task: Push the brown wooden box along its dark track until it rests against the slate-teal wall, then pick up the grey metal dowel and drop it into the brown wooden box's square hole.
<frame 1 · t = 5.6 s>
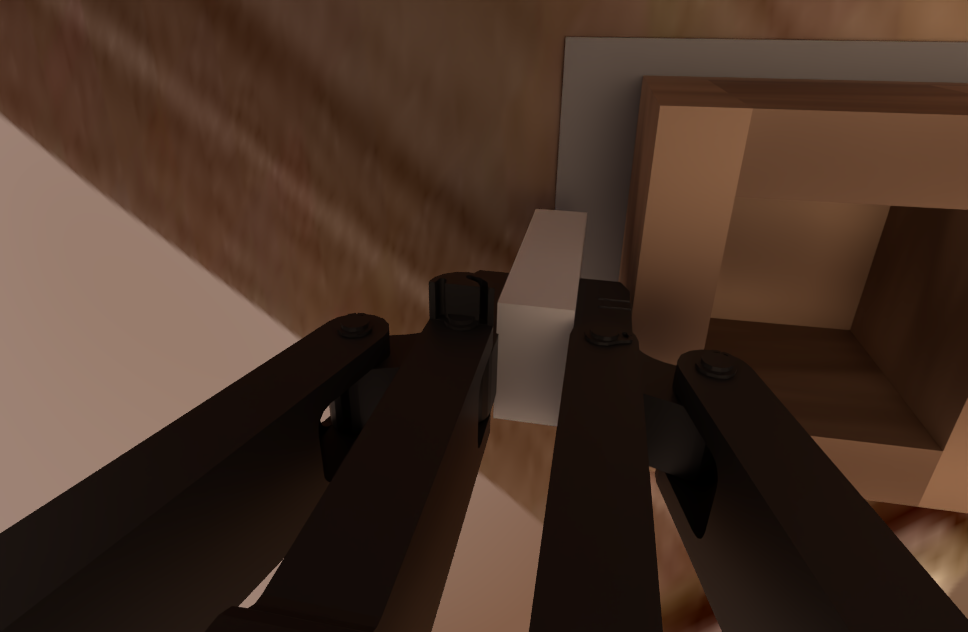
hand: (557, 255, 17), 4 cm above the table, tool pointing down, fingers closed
backstop: (826, 228, 19), on the table
brown wooden box: (799, 271, 16), point 4 cm above the table, slide at 1.1 cm, touching gripper
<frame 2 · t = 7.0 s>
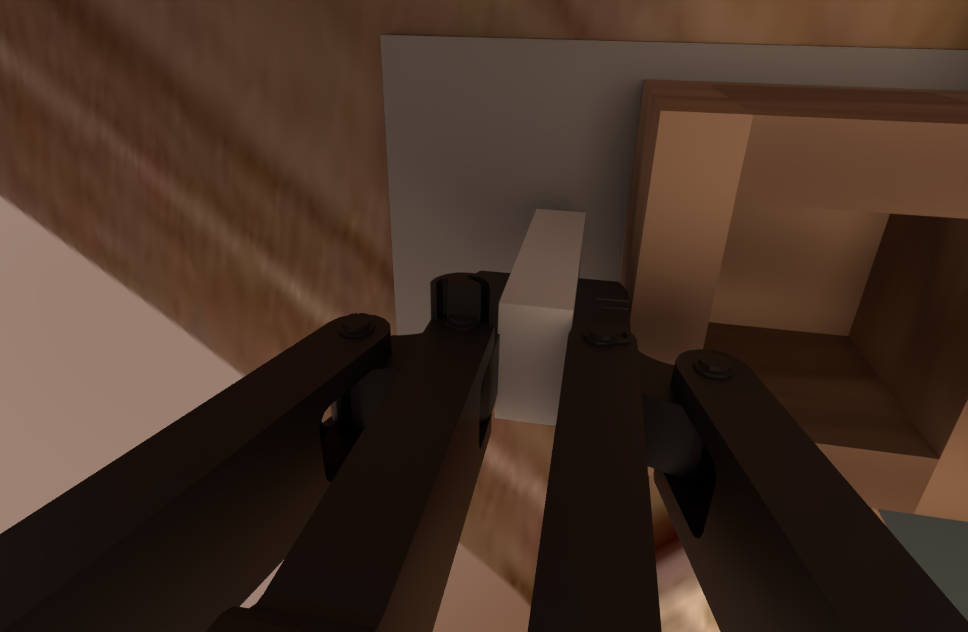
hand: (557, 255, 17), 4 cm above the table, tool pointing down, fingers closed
backstop: (639, 220, 20), on the table
brown wooden box: (798, 277, 16), point 4 cm above the table, slide at 7.0 cm, touching backstop, gripper
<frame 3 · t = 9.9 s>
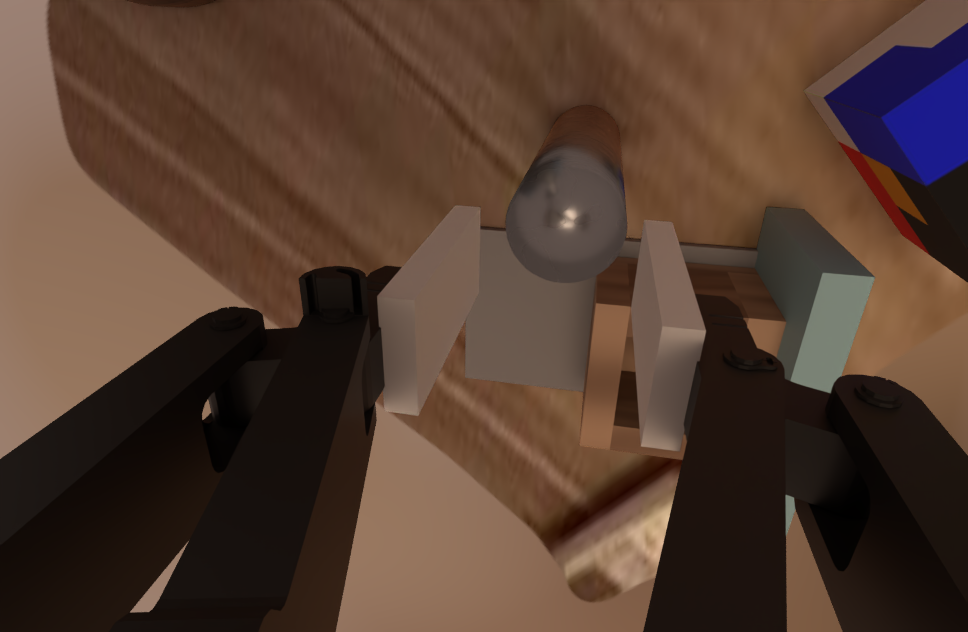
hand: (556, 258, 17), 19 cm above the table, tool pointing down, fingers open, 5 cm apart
backstop: (599, 317, 38), on the table
brown wooden box: (668, 356, 34), point 4 cm above the table, slide at 7.0 cm
dowel: (584, 142, 34), on the table
puzzle toy: (950, 99, 30), on the table
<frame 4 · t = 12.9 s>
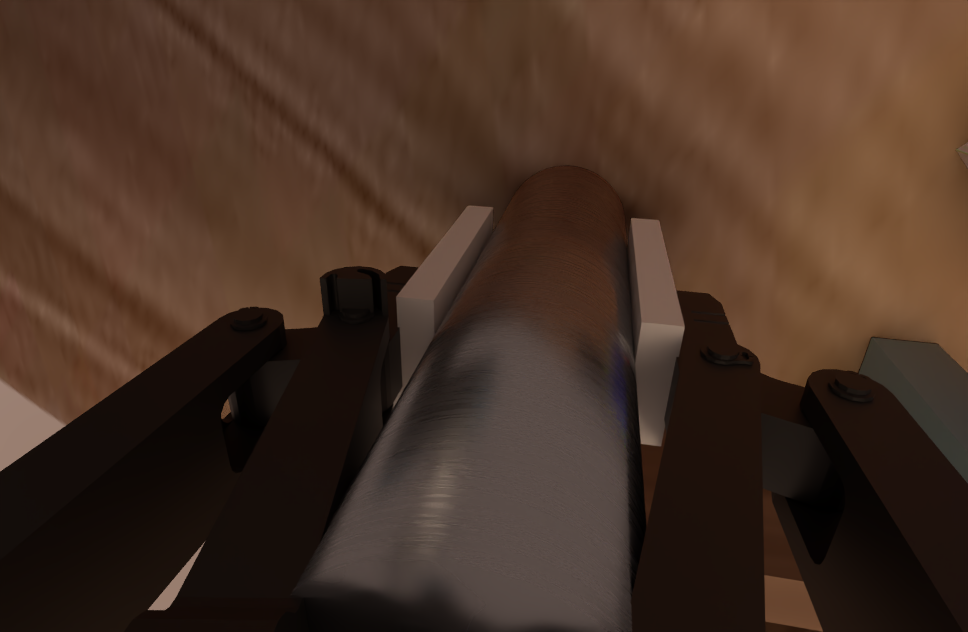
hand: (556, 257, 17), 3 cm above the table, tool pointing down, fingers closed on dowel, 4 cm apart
backstop: (590, 482, 25), on the table
brown wooden box: (703, 581, 20), point 4 cm above the table, slide at 7.0 cm
dowel: (564, 225, 20), on the table, touching gripper
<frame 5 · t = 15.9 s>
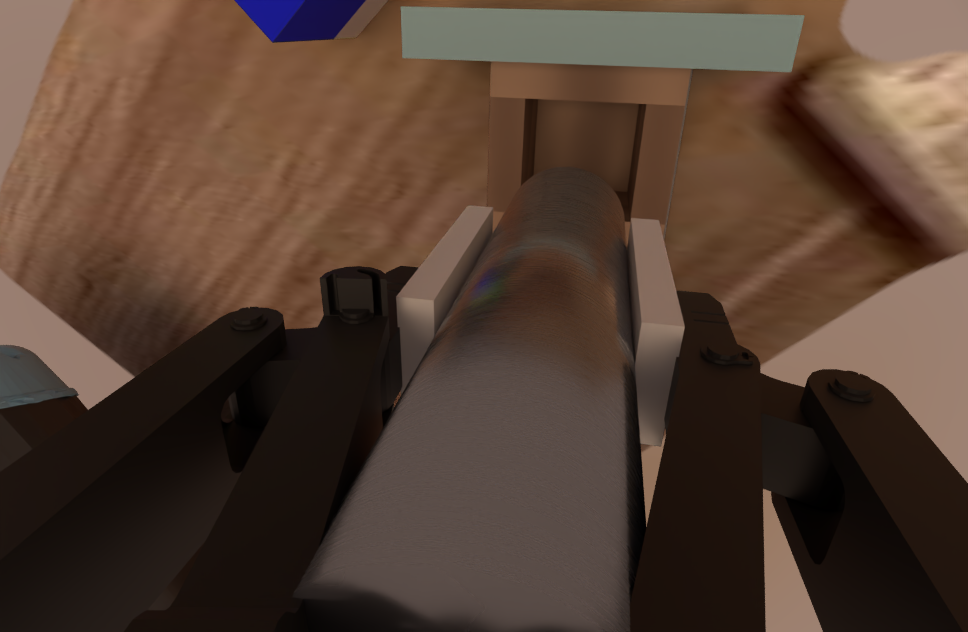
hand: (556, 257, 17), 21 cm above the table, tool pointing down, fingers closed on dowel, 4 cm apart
backstop: (578, 201, 37), on the table
brown wooden box: (582, 148, 32), point 4 cm above the table, slide at 7.0 cm
dowel: (564, 226, 20), point 18 cm above the table, touching gripper
when the fingers open (9 cm above the table, at t = 19.1 s): dowel drops 4 cm, resting on brown wooden box.
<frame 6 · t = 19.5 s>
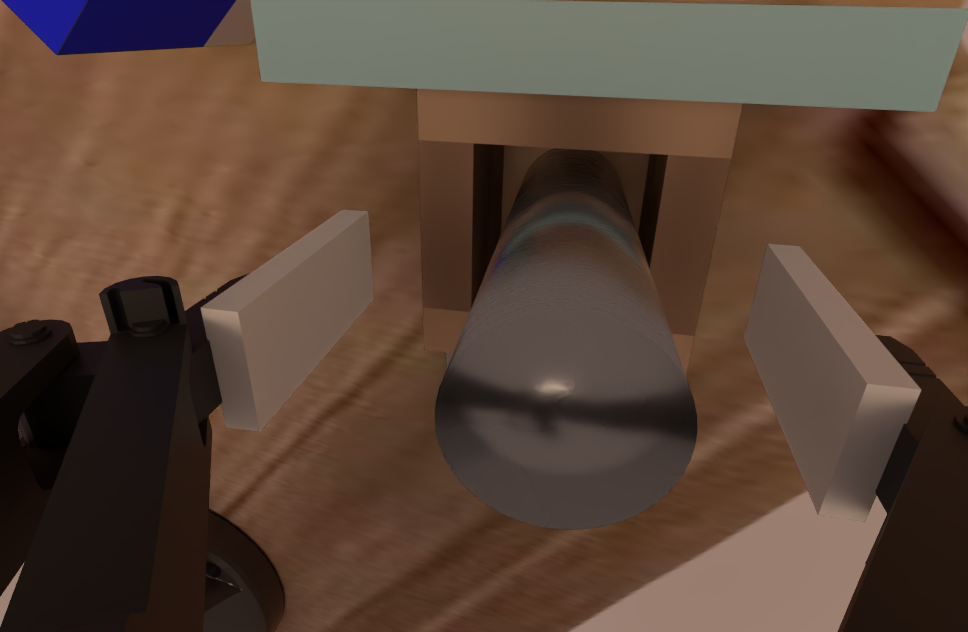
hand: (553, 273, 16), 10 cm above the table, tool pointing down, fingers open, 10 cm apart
backstop: (565, 270, 27), on the table
brown wooden box: (567, 209, 21), point 4 cm above the table, slide at 7.0 cm, touching dowel
dowel: (570, 196, 24), point 2 cm above the table, touching brown wooden box
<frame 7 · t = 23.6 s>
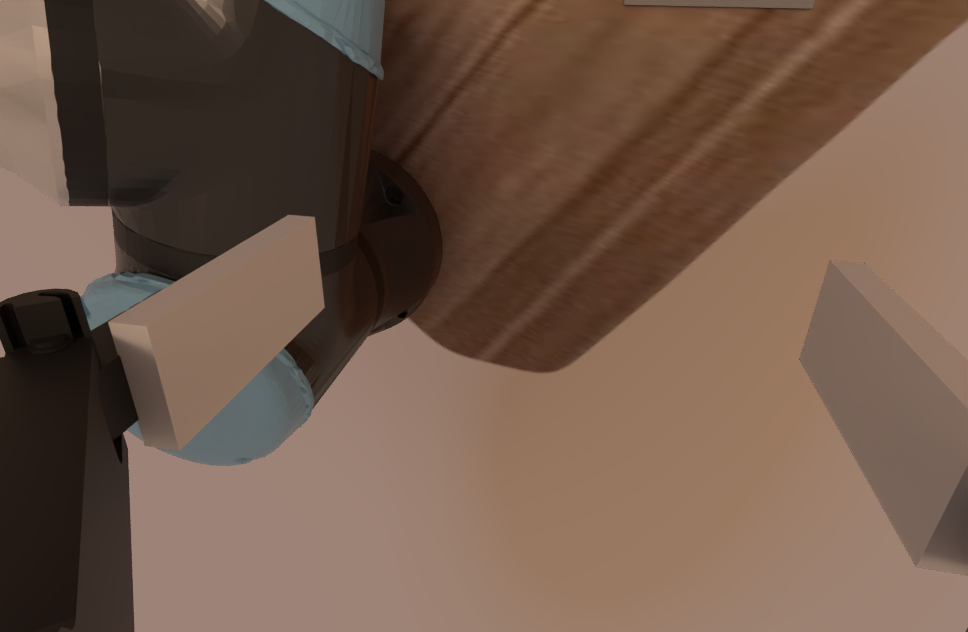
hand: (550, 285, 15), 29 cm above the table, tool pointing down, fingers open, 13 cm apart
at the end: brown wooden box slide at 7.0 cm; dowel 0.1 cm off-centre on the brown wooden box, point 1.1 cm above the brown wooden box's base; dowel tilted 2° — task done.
